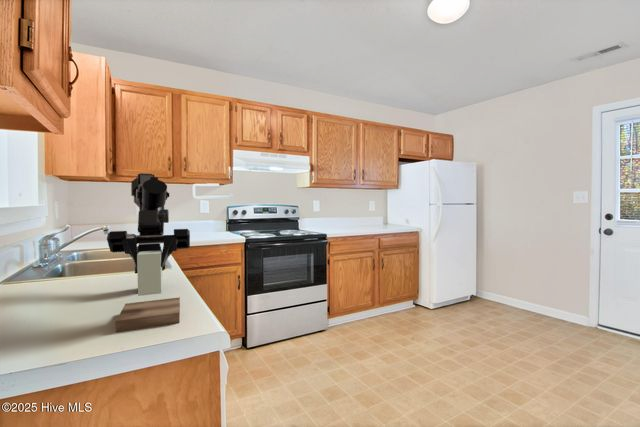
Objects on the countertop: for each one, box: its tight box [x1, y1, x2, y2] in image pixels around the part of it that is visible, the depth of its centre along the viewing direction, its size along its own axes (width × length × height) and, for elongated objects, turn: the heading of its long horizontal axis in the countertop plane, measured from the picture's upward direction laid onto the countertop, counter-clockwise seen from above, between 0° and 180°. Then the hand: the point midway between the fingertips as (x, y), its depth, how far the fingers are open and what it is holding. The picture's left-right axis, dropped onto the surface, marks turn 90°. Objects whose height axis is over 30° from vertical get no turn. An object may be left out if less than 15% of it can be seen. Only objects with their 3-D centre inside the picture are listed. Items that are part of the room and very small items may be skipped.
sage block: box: [136, 249, 163, 297], centre depth 78 cm, size 5×5×10 cm
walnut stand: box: [115, 296, 181, 333], centre depth 78 cm, size 13×13×2 cm
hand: (149, 266), depth 76 cm, fingers closed on sage block, 5 cm apart
